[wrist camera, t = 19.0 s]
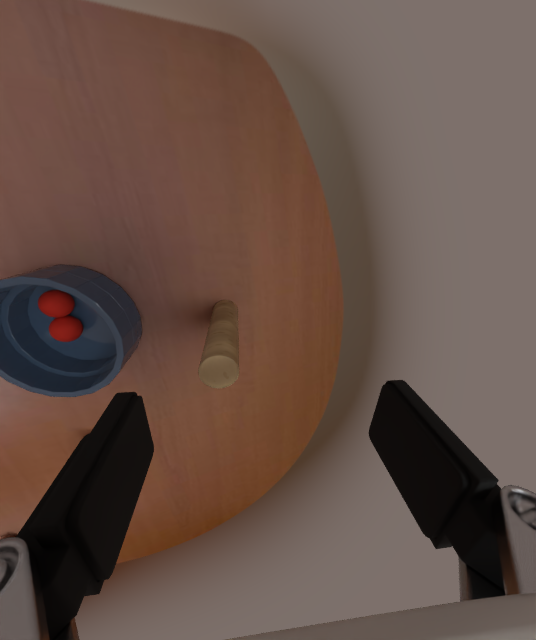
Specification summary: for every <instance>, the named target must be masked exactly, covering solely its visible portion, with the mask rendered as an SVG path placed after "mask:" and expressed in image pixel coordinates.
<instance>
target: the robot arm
mask: <svg viewBox="0 0 536 640" xmlns="http://www.w3.org/2000/svg"><path fill="white" fill-rule="evenodd" d="M369 437H370V440H371V442H372V443H373V445H374V447H375V449H376V451H377V452H378V454H379V456H380V458H381V460H382V461H383V463H384V465H385V467H386V469H387V470H388V472H389V474H390V476H391V477H392V479H393V481H394V483H395V485H396V486H397V488H398V490H399V492H400V493H401V495H402V497H403V499H404V500H405V502H406V504H407V506H408V508H409V509H410V511H411V513H412V515H413V516H414V518H415V520H416V522H417V523H418V525H419V527H420V529H421V531H422V532H423V534H424V535H425V536H426V537H428V538H430V540H431V541H432V543H433V545H434V547H435V548H436V549H440V548H447V547H451V546H453V548H454V549H455V551H456V552H457V554H458V556H459V580H460V602H454V603H448V604H442V605H435V606H429V607H423V608H416V609H410V610H403V611H397V612H391V613H385V614H378V615H372V616H366V617H359V618H354V619H347V620H342V621H335V622H329V623H323V624H317V625H310V626H304V627H299V628H292V629H286V630H280V631H274V632H268V633H261V634H256V635H250V636H244V637H238V638H232V639H227V640H536V494H535V493H533V492H531V491H529V490H527V489H524V488H522V487H519V486H512V485H508V486H504V487H503V488H502V489H501V488H500V487H499V486H498V485H497V482H498V479H497V478H496V477H495V476H494V475H493V474H492V473H491V472H490V471H489V470H488V469H487V468H486V466H485V465H484V464H483V463H482V462H480V460H479V459H478V458H477V457H476V456H475V455H474V454H473V453H472V452H471V451H470V450H469V449H468V448H467V446H466V445H465V444H464V443H463V442H462V441H461V440H460V439H459V438H458V437H457V436H456V435H455V434H454V433H453V432H452V431H451V430H450V429H449V427H448V426H447V425H446V424H445V423H444V422H443V421H442V420H441V419H440V418H439V417H438V416H437V415H436V414H435V413H434V411H433V410H432V409H431V408H429V406H428V405H427V404H426V403H425V402H424V401H423V400H422V399H421V398H420V397H419V396H418V395H417V394H416V392H415V391H414V390H413V389H412V388H411V387H410V386H409V385H408V384H407V383H406V382H405V381H403V380H392V381H387V382H386V384H385V385H383V386H382V389H381V392H380V396H379V399H378V402H377V405H376V409H375V412H374V415H373V419H372V422H371V425H370V429H369ZM153 452H154V445H153V441H152V437H151V432H150V428H149V424H148V420H147V416H146V412H145V407H144V403H143V399H142V397H141V396H137V393H136V392H124V393H117V394H116V395H115V396H114V397H113V399H112V401H111V402H110V404H109V405H108V407H107V408H106V410H105V411H104V413H103V414H102V416H101V417H100V419H99V420H98V422H97V424H96V425H95V427H94V428H93V430H92V431H91V433H90V434H87V435H86V436H84V438H83V439H82V440H81V441H80V443H79V444H78V446H77V447H76V449H75V450H74V452H73V453H72V455H71V456H70V458H69V459H68V461H67V462H66V464H65V465H64V467H63V468H62V469H61V471H60V472H59V474H58V475H57V477H56V478H55V480H54V481H53V483H52V484H51V486H50V487H49V489H48V490H47V492H46V493H45V495H44V496H43V498H42V499H41V501H40V502H39V504H38V505H37V507H36V508H35V510H34V511H33V513H32V514H31V516H30V517H29V519H28V520H27V522H26V523H25V525H24V526H23V528H22V529H21V531H20V532H19V534H18V535H17V537H16V538H5V539H2V540H0V640H79V636H78V631H77V627H76V622H75V618H74V617H75V616H76V615H77V612H78V610H79V608H80V605H81V603H82V600H83V598H84V596H89V595H96V594H99V593H100V591H101V588H102V585H103V582H104V580H106V579H109V578H110V576H111V575H112V573H113V570H114V568H115V565H116V562H117V559H118V556H119V553H120V550H121V547H122V544H123V541H124V538H125V535H126V532H127V530H128V527H129V524H130V521H131V518H132V515H133V512H134V509H135V506H136V503H137V500H138V497H139V495H140V492H141V489H142V486H143V483H144V480H145V477H146V474H147V471H148V468H149V465H150V462H151V460H152V457H153Z"/></svg>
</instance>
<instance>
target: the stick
mask: <svg viewBox="0 0 536 640" xmlns="http://www.w3.org/2000/svg"><path fill="white" fill-rule="evenodd" d="M198 373H199V377H200V379H201V380H202V382H203V383H204V384H206V385H207V386H210V387H213V388H225V387H228V386H230V385H231V384H233V383H234V382H235V381H236V380H237V378H238V375H239V337H238V309H237V306H236V305H235V304H234V303H233V302H231V301H228V300H222V301H219V302H218V303H216V304H215V306H214V308H213V312H212V316H211V320H210V324H209V328H208V332H207V336H206V341H205V345H204V349H203V353H202V357H201V361H200V366H199V370H198Z"/></svg>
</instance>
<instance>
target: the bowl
mask: <svg viewBox="0 0 536 640" xmlns="http://www.w3.org/2000/svg"><path fill="white" fill-rule="evenodd" d="M50 290H60V291H63V292H66V293H68V294H70V295H71V296H72V298H73V299H74V303H75V306H74V309H73V311H72V312H71V313H70V314H68V316H73V317H75V318H77V319H79V320H80V321H81V323H82V325H83V332H82V334H81V336H80V337H79V338H77V339H76V340H73V341H70V342H61V341H58V340H56V339H54V338H53V337H52V336H51V335H50V333H49V325H50V323H51V322H52V321H53V320H54V319H55V318H56V317H50V316H47V315H45V314H44V313H43V312H42V311H41V310H40V309H39V307H38V299H39V297H40V296H41V295H42V294H43V293H45V292H47V291H50ZM141 335H142V328H141V317H140V315H139V313H138V310H137V308H136V306H135V304H134V302H133V301H132V299H131V298H130V297H129V296H128V295H127V294H126V292H125V291H124V290H123V289H122V288H121V287H120V286H119V285H117V284H116V283H114V282H113V281H111V280H110V279H109V278H107V277H106V276H104V275H103V274H100V273H98V272H95V271H92V270H90V269H87V268H84V267H81V266H71V265H61V264H60V265H54V266H49V267H44V268H40V269H36V270H33V271H29V272H26V273H22V274H18V275H15V276H11V277H8V278H4V279H1V280H0V376H1V377H2V378H4V379H5V380H6V381H8V382H10V383H12V384H14V385H17V386H19V387H21V388H23V389H25V390H28V391H30V392H34V393H38V394H43V395H47V396H51V397H52V396H53V397H77V396H81V395H86V394H91V393H94V392H96V391H97V390H99V389H101V388H103V387H105V386H107V385H108V384H109V383H110V382H111V381H112V380H113V379H114V378H115V376H116V375H117V374H118V373H119V372H120V370H121V369H122V368H123V366H124V365H125V364H126V362H127V361H128V359H129V358H130V357H131V355H132V354H133V353H134V351H135V350H136V349H137V347H138V344H139V341H140V338H141Z"/></svg>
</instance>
